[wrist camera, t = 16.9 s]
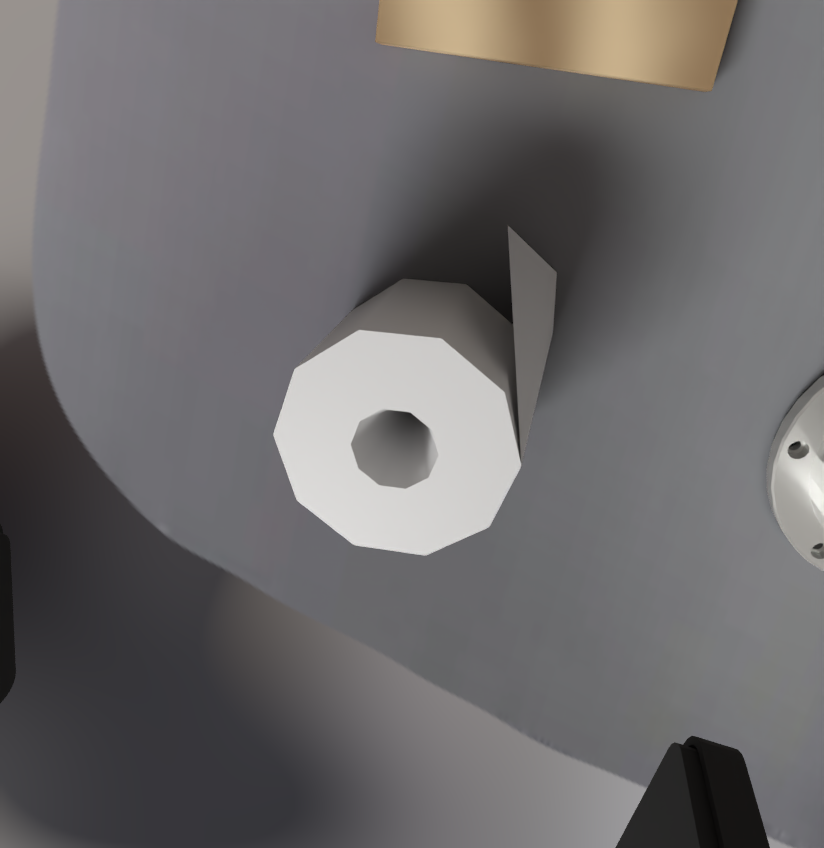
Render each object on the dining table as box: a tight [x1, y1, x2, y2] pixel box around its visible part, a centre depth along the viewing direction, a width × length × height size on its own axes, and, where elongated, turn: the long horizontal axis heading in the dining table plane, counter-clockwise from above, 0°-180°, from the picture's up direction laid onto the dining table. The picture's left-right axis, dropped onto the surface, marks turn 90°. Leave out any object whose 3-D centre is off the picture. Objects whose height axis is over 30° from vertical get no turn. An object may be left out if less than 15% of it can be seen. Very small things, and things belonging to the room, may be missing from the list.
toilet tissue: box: [273, 226, 557, 556], centre depth 29 cm, size 9×13×9 cm
